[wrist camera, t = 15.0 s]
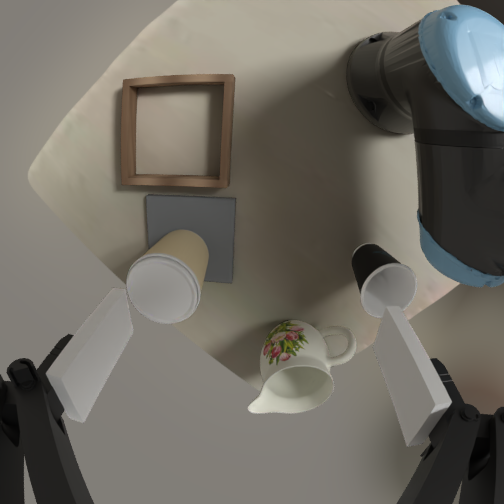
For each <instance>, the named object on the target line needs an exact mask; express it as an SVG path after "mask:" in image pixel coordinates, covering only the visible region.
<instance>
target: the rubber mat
mask: <svg viewBox="0 0 504 504" xmlns="http://www.w3.org/2000/svg"><path fill="white" fill-rule="evenodd" d="M146 204H147V227H148V243H149V249H151V248H152V247H153V246H154V245H155V244H156V243H157V242H158V241H160V240H161V239H162V238H163V237H164V236H166V235H167V234H168V233H170V232H172V231H174V230H179V229H184V230H189V231H192V232H194V233H196V234H197V235H199V236H200V237H201V238H202V239H203V240H204V242H205V244H206V245H207V248H208V253H209V259H208V265H207V269H206V273H205V277H204V281H209V282H221V283H232V277H233V252H234V228H235V206H236V198H224V197H205V196H183V195H154V194H148V195H147V196H146Z"/></svg>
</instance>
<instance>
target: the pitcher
mask: <svg viewBox="0 0 504 504" xmlns="http://www.w3.org/2000/svg"><path fill="white" fill-rule="evenodd" d="M329 335H343V336H345V337H346V338H347V339H348V348H347V350H346V351H345V352H344V353H343V354H341V355H339V356H336V357H330V353H329V349H328V347H327V344H326V342H325V340H324V337H326V336H329ZM356 346H357V344H356V339H355V336H354V335H353V333H352V331H351V330H350V329H348V328H346V327H342V326H331V327H327V328H324V329H321V330H316V329H315V328H314V327H313V326H311V325H310V324H308V323H306V322H303V321H298V320H289V321H286V322H283V323H281V324H279V325H278V326H276V327H275V328H274V329H273V330H272V331H271V332H270V334H269V335H268V337H267V338H266V340H265V342H264V345H263V347H262V351H261V356H260V372H261V376H262V379H263V382H264V383H263V386H262V389H261V392H260V394H259V395H258V396H257V397H256V398H255V399H254V400H253V401H252V402H251V403H250V404H249V405H248V410H249V411H250V412H252V413H256V414H257V413H258V414H262V413H271V412H279V413H300V412H305V411H309V410H312V409H314V408H316V407H318V406H320V405H322V404H323V403H325V402H326V401H327V400H328V399H329V398H330V396H331V395H332V393H333V390H334V382H333V379H332V376H331V375H330V368H331V366H334V365H340V364H343V363H345V362H347V361H349V360H350V359H351V358H352V357H353V355H354V353H355V351H356Z"/></svg>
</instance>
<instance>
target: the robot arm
mask: <svg viewBox="0 0 504 504" xmlns="http://www.w3.org/2000/svg"><path fill="white" fill-rule="evenodd" d="M347 84H348V88H349V92H350V95H351V97H352V99H353V101H354V103H355V105H356V106H357V108H358V109H359V110H360V112H361V113H362V114H363V115H364V116H365V117H366V118H367V119H368V120H369V121H370V122H372V123H373V124H375V125H376V126H378V127H380V128H382V129H384V130H386V131H389V132H394V133H402V134H412V133H414V137H415V149H416V162H417V178H418V205H419V208H418V211H417V218H418V222H419V225H420V244H421V248H422V251H423V252H424V254H425V257H426V258H427V260H428V261H429V263H430V264H431V265H432V266H433V267H434V268H435V269H437V270H438V271H439V272H441V273H442V274H443V275H445V276H447V277H449V278H450V279H453V280H455V281H457V282H459V283H462V284H466V285H470V286H474V287H483V286H484V284H485V285H487V286H489V287H495V286H498V285H501V284H502V283H504V25H503V24H501V23H500V22H499V21H498V20H497V19H495V18H494V17H493V16H491V15H490V14H488V13H486V12H484V11H482V10H480V9H478V8H475V7H471V6H467V5H453V6H449V7H446V8H444V9H441V10H436V11H433V12H430V13H428V14H427V15H425V16H424V18H423V19H421V20H419V21H418V22H416V23H414V24H413V25H411V26H410V27H408V28H406V29H405V30H403V31H402V32H382V33H378V34H374V35H372V36H370V37H368V38H367V39H365V40H364V41H363V42H361V43H360V44H359V45H358V46H357V47H356V48H355V49H354V51H353V52H352V54H351V56H350V59H349V61H348V66H347ZM133 332H134V331H133V326H132V321H131V316H130V311H129V305H128V299H127V293H126V289H121V288H114V287H113V288H112V289H111V290H110V292H109V293H108V294H107V295H106V296H105V298H104V299H103V300H102V301H101V302H100V304H99V305H98V306H97V307H96V309H95V310H94V311H93V312H92V313H91V315H90V316H89V317H88V318H87V320H86V321H85V322H84V323H83V325H82V326H81V327H80V328H79V330H78V331H77V332H76V333H75V335H70V334H68V335H67V336H65V337H63V338H62V339H61V340H60V341H59V342H58V343H57V344H56V346H55V348H54V349H52V351H51V352H50V354H49V355H48V356H47V357H46V359H45V360H44V361H43V363H42V364H41V365H40V366H39V368H38V369H37V370H36V368H35V366H34V364H33V362H32V361H31V360H29V359H26V358H22V359H18V360H15V361H14V362H12V363H11V364H10V365H9V367H8V368H7V374H8V376H9V378H10V380H11V381H4V380H3V378H2V377H1V375H0V504H24V456H25V460H26V465H27V469H28V473H29V477H30V481H31V485H32V488H33V491H34V495H35V499H36V502H37V504H94V502H93V500H92V498H91V496H90V494H89V491H88V489H87V486H86V484H85V481H84V479H83V477H82V474H81V471H80V469H79V466H78V463H77V461H76V458H75V455H74V452H73V449H72V446H71V443H70V440H69V437H68V434H67V431H66V428H65V424H64V420H63V419H62V417H61V415H62V413H63V412H64V410H65V412H66V413H67V415H68V417H69V418H70V419H73V420H76V421H79V422H82V423H84V422H85V420H86V418H87V416H88V414H89V412H90V410H91V408H92V406H93V404H94V403H95V401H96V399H97V397H98V395H99V393H100V391H101V389H102V387H103V386H104V384H105V382H106V380H107V378H108V376H109V375H110V373H111V371H112V369H113V367H114V366H115V364H116V362H117V360H118V358H119V357H120V355H121V353H122V351H123V350H124V348H125V346H126V344H127V342H128V341H129V339H130V337H131V336H132V334H133ZM373 350H374V353H375V355H376V358H377V361H378V363H379V366H380V369H381V371H382V374H383V377H384V379H385V382H386V385H387V388H388V391H389V394H390V396H391V399H392V402H393V405H394V408H395V411H396V414H397V417H398V420H399V423H400V426H401V429H402V432H403V435H404V439H405V442H406V445H407V447H408V446H414V445H419V444H423V442H424V441H425V440H426V438H427V437H428V436H429V438H430V441H431V443H430V444H429V446H428V447H427V448H426V449H425V451H424V452H423V453H422V454H421V456H422V459H421V461H420V464H419V465H418V467H417V469H416V472H415V473H414V475H413V477H412V478H411V480H410V482H409V484H408V486H407V487H406V489H405V491H404V492H403V494H402V496H401V497H400V499H399V501H398V502H397V504H452V503H453V501H454V498H455V496H456V494H457V491H458V489H459V486H460V484H461V481H462V486H461V493H460V499H459V504H504V407H500V408H498V409H497V411H496V412H495V413H494V415H488V414H480V413H479V411H478V410H477V409H476V408H475V407H474V406H472V405H470V404H465V403H464V401H463V399H462V397H461V395H460V393H459V392H458V390H457V388H456V386H455V384H454V382H453V381H452V379H451V377H450V375H448V371H447V370H446V368H445V366H444V365H443V364H442V363H441V362H440V361H439V360H438V359H437V358H433V359H429V357H428V355H427V353H426V351H425V350H424V348H423V346H422V344H421V342H420V341H419V339H418V337H417V336H416V334H415V332H414V330H413V329H412V327H411V325H410V323H409V322H408V320H407V318H406V317H405V315H404V313H403V312H402V310H401V308H400V307H399V306H386V307H385V311H384V314H383V317H382V321H381V324H380V327H379V330H378V333H377V336H376V339H375V342H374V345H373Z"/></svg>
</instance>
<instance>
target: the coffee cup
mask: <svg viewBox="0 0 504 504" xmlns="http://www.w3.org/2000/svg"><path fill="white" fill-rule="evenodd" d="M208 259H209V253H208V248H207V245H206V244H205V242H204V240H203V239H202V238H201V237H200V236H199V235H197V234H196V233H194V232H192V231H189V230H184V229H179V230H174V231H172V232H170V233H168V234H167V235H166V236H164V237H163V238H162V239H161V240H160V241H158V242H157V243H156V244H155V245H154V246H153V247H152V248H151V249H149V250H148V251H147V252H146V253H145V254H144V255H143V256H142V257H140V258H139V259H137V260H136V261H135V262H134V263H133V264H132V266H131V267H130V269H129V271H128V274H127V278H126V288H127V293H128V296H129V299H130V301H131V303H132V304H133V306H134V307H135V308H136V309H137V310H138V311H139V312H140V313H141V314H142V315H143V316H145V317H147V318H148V319H150V320H152V321H155V322H158V323H164V324H173V323H178V322H180V321H183V320H185V319H187V318H188V317H190V316H191V315H192V314H193V313H194V312H195V310H196V309H197V307H198V305H199V302H200V296H201V290H202V286H203V282H204V277H205V273H206V269H207V265H208Z"/></svg>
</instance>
